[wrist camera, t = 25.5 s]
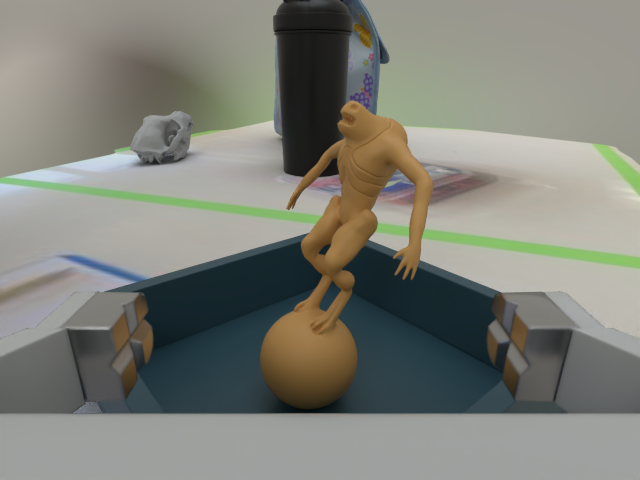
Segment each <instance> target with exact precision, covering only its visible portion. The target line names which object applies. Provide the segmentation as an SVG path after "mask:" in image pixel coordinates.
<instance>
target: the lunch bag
mask: <svg viewBox="0 0 640 480" xmlns="http://www.w3.org/2000/svg"><path fill="white" fill-rule="evenodd" d="M340 1H341V2H343V3H344V4H345V5H346V7H347V8H348V10H349V12H350V15H351V16H352V17H353V31H352V35H351V36H350V40H349V59H348V78H347V97H346V103H348V102H350V101H356V102H358V103H360V104H361V105H363V106H364V107H365V108H366V109H367V110H368V111H369V112H370V113H372V114H374V115H375V116H376V112H377V98H378V87H379V73H380V64H386V63H388V62H389V54H388V52H387V49H386V47H385V45H384V43H383V41H382V39H381V37H380V35H379V33H378V31H377V28H376V26H375V23H374V21H373V19H372V16H371V14H370V12H369V11H368V9H367V7H366V6H365V4H364V3H363V1H362V0H340ZM275 70H276V94H275V108H274V128H275V131H276V133H278V134H279V135H281V136H282V125H281V107H280V89H279V71H278V53H277V36H276V45H275ZM344 138H345V136H344Z"/></svg>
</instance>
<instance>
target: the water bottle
mask: <svg viewBox="0 0 640 480" xmlns="http://www.w3.org/2000/svg"><path fill="white" fill-rule="evenodd" d="M283 1H284V2H283V3H282V4H281V5H280V6H279V8H278V10H277V13H276V15H274V17H273V27H274V32H275V35H276V36H277V53H278V71H279V89H280V107H281V125H282V142H283V160H284V171H285V172H286V173H288V174H292V175H297V176H305V175H306V174H307V173H308V172H309V171H310V170H311V169H312V168H313V167H314V166H315V165H316V164H317V163H318V162H319V160H320V158H321V157H322V155H323V154H324V153H325V152H326V151H327V150H328V149H329V148H330V147H331V146H332V145H334V144H335V143H337V142H338V141H341V140H343V139H344V135H343V134H342V133H341V132H340V131H339V128H338V123H339V121H340V120H343V115H342V114H341V109H342V108H343V107H344V105H345V104H346V97H347V78H348V59H349V40H350V36H351V35H352V31H353V17H352V16H351V15H350V12H349V10H348V8H347V7H346V5H345V4H344V3H343V2H341V1H340V0H283ZM337 161H338V160H337V158H334V159H332V160H331V161H330V163H329V165H328V166H327V168H326V169H325V170H324V171H323V172H322V173H321V174H320V175H319V176H330V175H335V174H338V173H339V170H338V166H337Z"/></svg>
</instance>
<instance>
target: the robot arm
mask: <svg viewBox="0 0 640 480" xmlns="http://www.w3.org/2000/svg"><path fill="white" fill-rule="evenodd" d="M148 311H149V306H148V301H147V297H146V296H145V295H144V294H143V293H128V292H98V291H97V292H75V293H73V294H72V295H71V296H70V297H69V298H68V299H67V300H65V301H64V302H63V303H62V304H61V305H60V306H59V307H58V308H56V309H55V310H54V311H53V312H52V313H51V314H50V315H49V316H48V317H46V318H45V319H44V320H43V321H42V322H41V323H40V324H39V325H37V326H36V327H35V328H26V329H24V330H21V331H19V332H16V333H14V334H11V335H9V336H6V337H3V338H1V339H0V480H640V339H639V338H636V337H634V336H631V335H629V334H626V333H624V332H621V331H619V330H616V329H614V328H605V327H604V326H603V325H601V324H600V323H599V322H598V321H597V320H596V319H595V318H594V317H593V316H591V315H590V314H589V313H588V312H587V311H586V310H585V309H584V308H583V307H581V306H580V305H579V304H578V303H577V302H576V301H575V300H574V299H572V298H571V297H570V296H569V295H568V294H567V293H564V292H561V291H559V292H514V293H497V294H495V296H494V298H493V300H492V306H491V311H492V313H493V314H494V316H495V317H496V319H495V320H494V321H493V322H492V323H491V324H490V325H489V326H488V330H487V338H486V341H487V351H488V354H489V357H490V360H491V362H492V363H493V365H494V367H496V368H498V369H499V370H501V371H502V372H503V376H502V381H503V382H504V384H505V386H506V387H507V389H508V391H509V392H510V394H511V396H512V397H513V399H514V401H545V402H555V404H556V405H557V406H559V407H560V408H561V409H563V410H564V411H565V412H567V413H73V412H75V411H76V410H77V409H79V408H80V407H82V406H83V405H84V404H85V402H95V401H126V399H127V397H128V396H129V394H130V392H131V391H132V389H133V387H134V386H135V384H136V382H137V381H138V376H137V372H138V371H139V370H141V369H142V368H144V367H146V365H147V363H148V362H149V360H150V358H151V354H152V350H153V330H152V326H151V325H150V324H149V323H148V322H147V321H146V320H145V319H144V317H145V316H146V314H147V313H148Z"/></svg>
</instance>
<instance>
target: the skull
mask: <svg viewBox="0 0 640 480" xmlns="http://www.w3.org/2000/svg"><path fill="white" fill-rule="evenodd" d="M192 125H193V126H194V123H193V121H192V117H191V116H189V115H188V114H185V113H183V112H182V111H179V112H176V111H175V112H173V113H172V114H171V115H168V116H156V115H151V116H148V117H146V118H144V121H143V125H142V127H141V128H140V129H139V130H138V131H137V132H136V134H135V136H134V139H133V141H132V145H131V146H130V148H131V149H130V150H132V151H134V152H136V153H137V155H138V157H139V158H140V159H141V160H142V162H143V163H145V162H147V161H149V162H150V163H151V162H153V160H154V159H156V160H157V161H158V162H159V163H160V164H161V160H162V159H163V157H165V155H169V154H170V155H173V156H174V159H173V160H175V161H176V160H178V159H179V158H184V157H185V156H186V154H187V151H188V149H189V144H190V135H191V129H192Z"/></svg>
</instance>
